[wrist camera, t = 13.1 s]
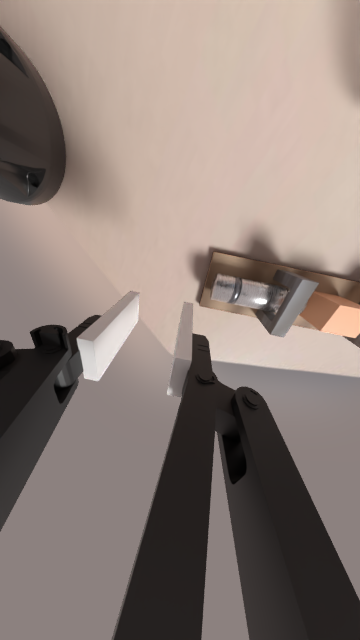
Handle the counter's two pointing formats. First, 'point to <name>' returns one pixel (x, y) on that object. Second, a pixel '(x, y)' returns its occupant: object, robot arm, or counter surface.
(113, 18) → the counter surface
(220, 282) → the shaft
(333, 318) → the block
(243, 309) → the rail
